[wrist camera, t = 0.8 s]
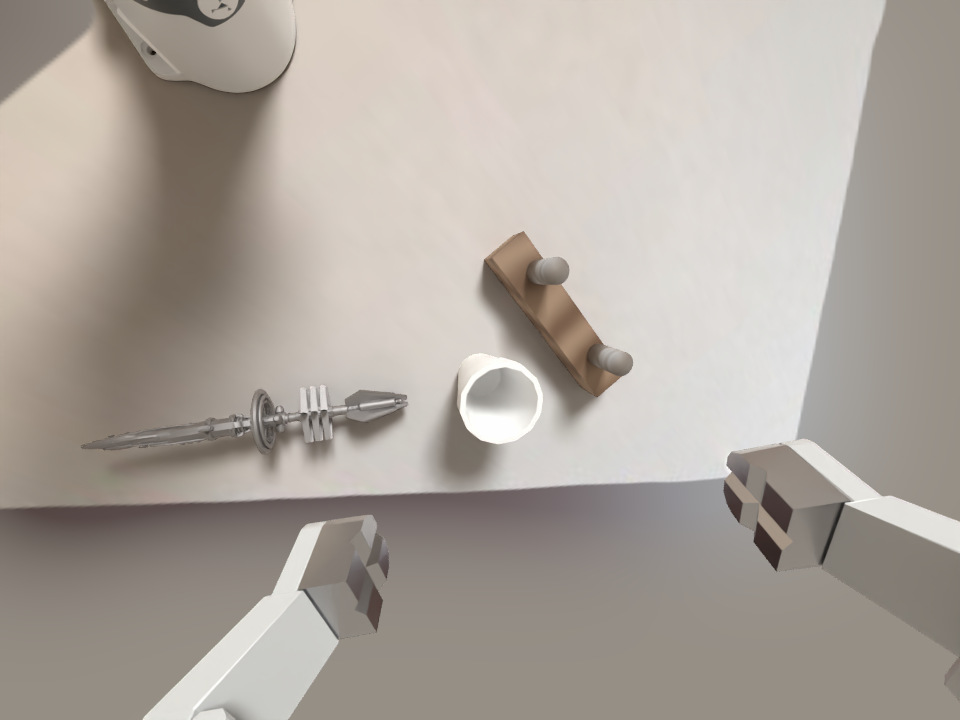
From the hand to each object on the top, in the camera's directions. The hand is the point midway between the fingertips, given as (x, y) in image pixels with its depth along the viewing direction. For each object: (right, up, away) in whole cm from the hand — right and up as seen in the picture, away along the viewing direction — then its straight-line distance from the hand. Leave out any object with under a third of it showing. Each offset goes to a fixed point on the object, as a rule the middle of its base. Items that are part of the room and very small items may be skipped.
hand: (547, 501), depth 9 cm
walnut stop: (+8, +9, +45) cm, 47 cm away
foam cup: (-2, +1, +45) cm, 45 cm away
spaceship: (-29, -3, +41) cm, 50 cm away
